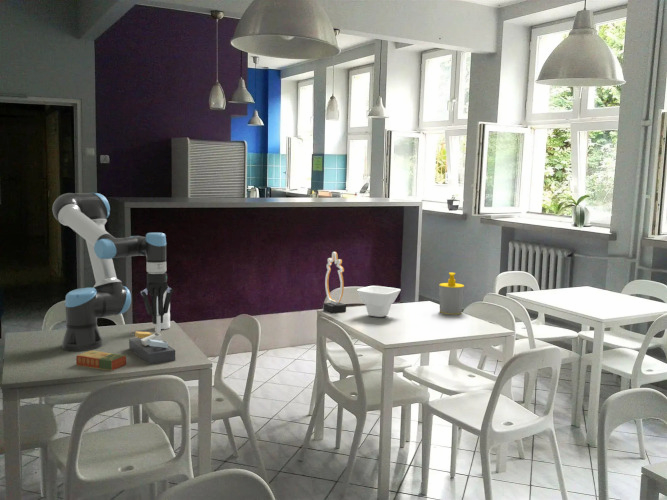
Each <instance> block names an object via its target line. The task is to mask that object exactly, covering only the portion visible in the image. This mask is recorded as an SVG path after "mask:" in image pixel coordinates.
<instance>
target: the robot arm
mask: <svg viewBox="0 0 667 500" xmlns="http://www.w3.org/2000/svg"><path fill="white" fill-rule="evenodd" d="M51 210H52V214H53V217H54V218H55V220H56V221H57V222H58V223H60V224H62V225H63V226H66V227H69V228H70V229H72V231H73V232H74V233H76V234H78V235H79V236H80V237H81V238H83V240H85V243H86V247H87V251H88V255H89V260H90V264H91V268H92V273H93V276H94V281H95V284H94V285H93V287H84V288H83V287H81V288H76V289H73V290H70V291H69V292H67V293H66V295H65V302H64V305H65V323H66V325H65V326H66V328H65V332H64V335H63V339H62V342H61V345H62V349H63V350H64V351H70V352H72V351H73V352H81V351H82V352H83V351H91V350H95V349H98V348H100V347H102V346H103V339H102V336H101V335H102V334H101V333H100V330H99V327H98V319H101V318H108V317H112V316H119V315H121V314H124V313H126V312H127V311H128V310H129V308H130V306H131V304H132V303H131V302H132V295H131V291H130V289H128V287H127V286H124V285H123V283H122V280H120V279H118V277H117V273H116V270H115V264H114V260H113V259H118V258H126V257H127V258H128V257H137V256H143V257H146V272H147V273H146V285H145V289H142V290H140V292H139V293H140V295H141V297H142V299H143V302H144V305H145V310H146V314H147V315H149V316H151V317H152V319H151V321H152V324H153V325H154V324H155V327H154V332H155V333H162V330H161V323H163V315H164V314H165V313H167V312H168V308H169V303H170V304H171V298H172V295H173V293H174V292H175V290H174V289H173V288H171V287H169V285H168V283H167V282H168V273H167V244H168V243H167V238H166V237H167V235H166V233H163V232H147V233H146V234H145V236H141V235H130V236H129V237H115V236H113V235H112V234H110V233H109V232H108V231H107V230H106V227H105V225H106V223H107V222H108V218H109V216H110V214H111V213H110V211H111V207H110V203H109V201H108V199H107V197H106V196H104V195H103V194H101V193H98V192H75V193H73V192H67V193H63V194H61V195H59V196H58V197H57V198H56V199H55V200H54V202H53V204H52V209H51ZM166 290H167V291H166ZM165 291H166V292H167V293H166V297H165V302H164V307H163V294H164V293H165ZM148 293H149V295H150V298H151V304H150V300H149V297H148ZM157 297H158V314H159V315H157Z"/></svg>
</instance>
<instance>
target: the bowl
mask: <svg viewBox="0 0 667 500" xmlns="http://www.w3.org/2000/svg"><path fill="white" fill-rule="evenodd" d="M400 292H401V288H396V287H390V286H389V287H388V286H382V285H369V286H364V287H360V288H358V289H357V290H356V293H357V294H358V296H359V298H360V300H361V302H362V303H363V304H364V305H365V307H366V312H367V315H368V316H371V317H377V318H383V317H386V316H388V315H389V313H390V310H391V305H392V304H394V302H395V301H396V299H397V298H398V296H399V294H400Z"/></svg>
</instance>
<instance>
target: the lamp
mask: <svg viewBox="0 0 667 500" xmlns="http://www.w3.org/2000/svg"><path fill="white" fill-rule="evenodd" d="M333 262H334V265H335V267H336V268H338V269H337V274H338V277H339V282H340V283H339V285H340V287H339V294H338V299H337V300H335V299H332V296H331V293H330V289H329V288H330V287H329V278H330V273H331V272H332V271H331V270H332V268H331V266H332V265H333ZM342 264H343V259H341V258H339V257H338V253H337V252H336V251H332V252H331V257H328V258H327V263H326V266H325V267H326V270H327V271H326V273H325V279H324V286H325V287H324V288H325V294H326V297H327V300H328V301H329V302H323V304H322V305H323V307H322V308H323V309H322V310H323V311H325V312H327V313H329V314H337V313H346V312H347V304H345V303H342V302H341V301H342V298H343V296H344V289H345V286H344V285H345V283H344V276H343V273H344V272H345V268H344V267H343V266H342Z"/></svg>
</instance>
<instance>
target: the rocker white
mask: <svg viewBox="0 0 667 500" xmlns="http://www.w3.org/2000/svg"><path fill="white" fill-rule="evenodd" d="M148 339H152V340H161V341H162V340H163V337H162V334H161V333H160V332H155V333H154V334H153V335H150V336H148V337H145V338H143V339H141V342H142V344H143V345H145V346H146V345H148V344H147V340H148Z"/></svg>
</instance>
